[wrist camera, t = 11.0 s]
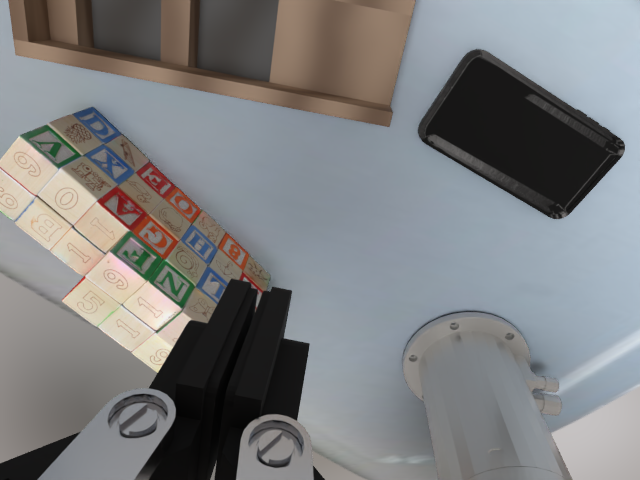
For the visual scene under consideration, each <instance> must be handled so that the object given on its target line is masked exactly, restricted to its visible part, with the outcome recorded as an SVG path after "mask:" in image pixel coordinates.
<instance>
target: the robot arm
mask: <svg viewBox="0 0 640 480" xmlns="http://www.w3.org/2000/svg"><path fill="white" fill-rule="evenodd" d="M257 294H258V289H254V288H251V282H246V281H241V280H236V279H231V280H230V281H229V283H228V285H227V287H226V289H225V291H224V293H223V294H222V296H221V298H220V300H219V302H218V304H217V306H216V308H215V310H214V312H213V313H212V315H211V317H210V319H209V321H208V323H205V322H200V321H195V320H190V321H189V322H188V323H187V325H186V326H185V328H184V330H183V331H182V333H181V335H180V336H179V338H178V340H177V342H176V343H175V345H174V347H173V348H172V350H171V352H170V353H169V355H168V357H167V358H166V360H165V362H164V363H163V365H162V367H161V368H160V370H159V372H158V373H157V375H156V377H155V379H154V381H153V382H152V384H151V385H150V387H149V388H142V389H134V390H130V391H126V392H124V393H122V394H120V395H118V396H116V397H114V398H113V399H112V400H111V401H109V402H108V403H107V404H106V405H105V406H104V407H103V408H102V409H101V411H100V412H99V413H98V414H97V415H96V416H95V417H94V418H93V419H92V420H91V422H90V423H89V424H88V425H87V426H86V427H85V428H84V429H83V431H81V432H79V433H76V434H74V435H71V436H69V437H66V438H64V439H61V440H58V441H56V442H53V443H51V444H48V445H46V446H43V447H41V448H38V449H36V450H33V451H31V452H28V453H26V454H23V455H21V456H18V457H15V458H13V459H10V460H8V461H5V462H3V463H0V480H210V478H211V475H212V472H213V469H214V466H215V463H216V460H217V463H216V472H215V480H325V479H324V478H323V477H322V476H321V475H320V473H319V472H318V471H317V470H316V468H315V467H314V466H313V459H312V444H311V440H310V436H309V434H308V432H307V431H306V429H305V428H304V427H303V426H302V425H301V424H300V423H299V422H298V421H297V418H298V412H299V406H300V400H301V394H302V388H303V381H304V375H305V369H306V363H307V357H308V351H309V345H310V344H309V343H304V342H299V341H294V340H289V339H284V333H285V327H286V322H287V316H288V311H289V305H290V300H291V294H292V291H291V290H286V289H281V288H276V287H272V289H271V292H269V291H263V293H262V296H261V298H260V301H259V304H258V306H257V309H256V312H255V308H256V301H257ZM530 360H531V357H530V352H529V348H528V346H527V344H526V342H525V340H524V338H523V337H522V335H521V334H520V332H519V331H518V330H517V329H516V328H515V327H514V326H513V325H512V324H510V323H509V322H507V321H505V320H504V319H502V318H499V317H496V316H494V315H491V314H485V313H480V312H463V313H455V314H451V315H447V316H444V317H441V318H439V319H436V320H434V321H432V322H430V323H429V324H427V325H426V326H424V327H423V328H421V329H420V330H419V331H418V332H417V333H416V334H415V335H414V336H413V337H412V339H411V340H410V341H409V343H408V344H407V347H406V349H405V351H404V355H403V362H402V363H403V372H404V377H405V381H406V383H407V385H408V387H409V388H410V390H411V391H412V392H413V393H414V394H415V395H416V396H417V397H418V398H419V399H420V400H422V401H423V402H424V403H425V409H426V414H427V419H428V425H429V430H430V435H431V441H432V446H433V452H434V457H435V462H436V468H437V473H438V478H439V480H572V478H571V476H570V473H569V471H568V469H567V467H566V465H565V463H564V461H563V459H562V456H561V455H560V452H559V450H558V448H557V446H556V444H555V442H554V439H553V438H552V435H551V433H550V431H549V429H548V427H547V425H546V422H545V420H544V418H543V416H542V414H541V413H544V414H549V415H555V416H556V415H559V414H560V412H561V408H562V404H561V400H560V398H559V397H558V396H555V395H549V394H543V393H533V392H532V391H533V389H534V388H536V389H541V390H544V391H549V392H557V391H558V388H559V382H558V380H557V379H556V378H552V377H546V376H537V375H535V373H533V372H532V371H531V369H530Z"/></svg>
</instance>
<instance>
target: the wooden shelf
mask: <svg viewBox="0 0 640 480" xmlns="http://www.w3.org/2000/svg"><path fill="white" fill-rule="evenodd" d="M8 1H9V8H10V16H11V23H12V31H13V39H14V46H15V54H16V55H18V56H24V57H29V58H34V59H39V60H44V61H50V62H55V63H60V64H65V65H70V66H76V67H81V68H86V69H91V70H96V71H101V72H107V73H112V74H117V75H122V76H127V77H133V78H138V79H143V80H148V81H153V82H159V83H164V84H169V85H174V86H179V87H184V88H190V89H195V90H200V91H205V92H210V93H216V94H221V95H226V96H231V97H236V98H242V99H247V100H252V101H257V102H262V103H267V104H273V105H278V106H283V107H288V108H293V109H299V110H304V111H309V112H314V113H319V114H325V115H330V116H335V117H340V118H345V119H350V120H356V121H361V122H366V123H371V124H376V125H382V126H387V127H389V126H390V122H391V118H392V114H393V112H392V109H391V107H390V104H391V100H392V96H393V92H394V87H395V83H396V79H397V75H398V71H399V67H400V63H401V59H402V55H403V50H404V46H405V42H406V38H407V34H408V30H409V26H410V22H411V18H412V13H413V9H414V5H415V1H416V0H8Z"/></svg>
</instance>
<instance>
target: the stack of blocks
mask: <svg viewBox="0 0 640 480" xmlns="http://www.w3.org/2000/svg"><path fill="white" fill-rule="evenodd" d="M0 212H1V213H3V214H4V215H5V216H7V217H8V218H9V219H11V220H13V221H15V224H16V225H17V226H18V227H20V228H21V229H22V230H23V231H25V232H26V233H27V234H28V235H30V236H31V237H32V238H33V239H35V240H36V241H37V242H39V243H40V244H41V245H42V246H44V247H45V248H46V249H48V250H50V251H51V253H53V254H54V255H55V256H56V257H57V258H59V259H60V260H61V261H63V262H64V263H65V264H67V265H68V266H69V267H71V268H72V269H73V270H75V271H76V272H77V273H79V274H81V275H83V276H84V277H83V278H82V279H81V281H80V282H79V283H78V284H77V285H76V286H75V287H74V288H73V289H72V290H71V291H70V292H69V293H68V294H67V295H66V296H65V297H64V298H63V299H62V301H63V302H64V303H65V304H66V305H68V306H69V307H70V308H71V309H73V310H74V311H75V312H77V313H78V314H80V315H81V316H82V317H84V318H85V319H86V320H88V321H89V322H90V323H92V324H93V325H94V326H97V327H98V328H99V329H101V330H102V331H103V332H104V333H105V334H107V335H108V336H110V337H111V338H113V339H114V340H115V341H117V342H118V343H119V344H120V345H122V346H123V347H124V348H126V349H127V350H129V351H131V353H132V354H134V355H135V356H136V357H137V358H139V359H140V360H142V361H143V362H144V363H145V364H147V365H148V366H149V367H151V368H152V369H153V370H155V371H156V372H157V373H158V372H159V370H160V368H161V367H162V365H163V363H164V362H165V360H166V358H167V357H168V355H169V353H170V352H171V350H172V348H173V347H174V345H175V343H176V342H177V340H178V338H179V336H180V335H181V333H182V331H183V330H184V328H185V326H186V325H187V323H188V322H189V321H190V320H195V321H200V322H205V323H208V321H209V319H210V317H211V315H212V313H213V312H214V310H215V308H216V306H217V304H218V302H219V300H220V298H221V296H222V294H223V293H224V291H225V289H226V287H227V285H228V283H229V281H230V280H231V279H236V280H241V281H246V282H251V288H254V289H258V294H257V301H256V308H255V312H256V309H257V306H258V304H259V301H260V298H261V296H262V293H263V291H266V290H267V287H268V283H269V279H270V275H269V274H268V273H267V272H266V271H265V270H264V269H263V268H262V267H261V266H260V265H259V264H258V263H257V262H256V261H255V260H253V259H252V258H251V257H250V256H249V254H248V253H247V252H246V251H245V250H244V249H243V248H242V247H241V246H240V245H239V244H238V243H237V242H236V241H235V240H234V239H233V238H232V237H231V236H230V235H229V234H227V233H226V232H225V231H224V230H223V229H222V228H221V227H220V226H219V225H218V224H217V223H216V222H215V221H214V220H213V219H212V218H211V217H210V216H209V215H208V214H207V213H206V212H204V211H203V210H201V209H199V207H198V206H197V205H195V204H194V203H193V202H192V201H191V200H190V199H189V198H188V197H187V196H186V195H185V194H184V193H183V192H182V191H181V190H180V189H179V188H177V187H175V186H174V184H172V183H171V182H170V181H169V180H168V179H167V178H166V177H165V176H164V175H163V174H162V173H161V172H160V171H159V170H158V169H157V168H156V167H155V166H154V165H153V164H151V163H150V162H149V159H148V158H147V157H146V156H144V155H143V154H142V153H141V152H140V151H139V150H138V149H137V148H136V147H135V146H134V145H133V144H132V143H131V142H130V141H129V140H128V139H127V138H126V137H124V136H123V135H122V134H121V133H120V132H119V131H118V130H117V129H116V128H115V127H114V126H113V125H112V124H111V123H110V122H108V121H107V120H106V119H105V118H104V117H103V116H102V115H101V114H100V113H99V112H98V111H97V110H96V109H94V108H93V107H91V108H88V109H85V110H82V111H80V112H77V113H74V114H72V115H68V116H65V117H62V118H60V119H57V120H54V121H52V122H50V123H48V124H47V125H44V126H42V127H39V128H37V129H34V130H32V131H29V132H27V133H24V134H22V135H20V136H19V137H18V138H17V139H16V141H15V142H14V143H13V144H12V146H11V147H10V148H9V150H8V151H7V152H6V153H5V155H4V156H3V157H2V158H1V160H0Z"/></svg>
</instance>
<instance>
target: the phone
mask: <svg viewBox="0 0 640 480" xmlns="http://www.w3.org/2000/svg"><path fill="white" fill-rule="evenodd" d="M586 116H587V115H586V114H584V113H583V112H581V111H580V110H576V109H574V108H573V107H571V106H570V105H568V104H567V103H565V102H563V101H562V100H560V99H559V98H557V97H556V96H554V95H553V94H551V93H550V92H548V91H547V90H545V89H544V88H542V87H540V86H539V85H537V84H536V83H534V82H533V81H531V80H530V79H528V78H527V77H525V76H524V75H522V74H521V73H519V72H518V71H516V70H514V69H513V68H511V67H510V66H508V65H507V64H505V63H504V62H502V61H501V60H499V59H498V58H496V57H495V56H493V55H492V54H490V53H488V52H486V51H484V50H477V49H476V50H472V51H470V52H469V53H467V54H466V55H465V56H464V57H463V59H462V60H461V62H460V63H459V65H458V66H457V68H456V69H455V71H454V72H453V74H452V75H451V77H450V78H449V80H448V81H447V83H446V84H445V86H444V87H443V89H442V90H441V92H440V93H439V95H438V96H437V98H436V99H435V101H434V102H433V104H432V105H431V107H430V108H429V110H428V112H427V113H426V115H425V116H424V118H423V119H422V121H421V122H420V124H419V128H418V133H419V136H420V138H421V139H422V141H423V142H424V143H425V144H427V145H429V146H430V147H432V148H434V149H435V150H437V151H439V152H440V153H442V154H444V155H445V156H447V157H449V158H450V159H452V160H454V161H456V162H457V163H459V164H461V165H462V166H464V167H466V168H467V169H469V170H471V171H472V172H474V173H476V174H478V175H479V176H481V177H483V178H484V179H486V180H488V181H489V182H491V183H493V184H494V185H496V186H498V187H499V188H501V189H503V190H505V191H506V192H508V193H510V194H511V195H513V196H515V197H516V198H518V199H520V200H521V201H523V202H525V203H527V204H528V205H530V206H532V207H533V208H535V209H537V210H538V211H540V212H542V213H543V214H545V215H547V216H548V217H550V218H553V219H560V218H564V217H566V216H567V215H569V214H570V213H571V212H572V211H573V210H574V208H575V207H576V206H577V205H578V204H579V203H580V202H581V201H582V200H583V199H584V198H585V196H586V195H587V194H588V193H589V192H590V191H591V190H592V189H593V188H594V187H595V186H596V184H597V183H598V182H599V181H600V180H601V179H602V178H603V177H604V176H605V175H606V174H607V172H608V171H609V170H610V169H611V168H612V167H613V166H614V165H615V164H616V163H617V162H618V160H619V159H620V158H621V157H622V155H623V153H624V151H625V145H624V142H623V141H622V140H621V139H620V138H619V137H617V136H616V135H614V134H612V133H611V132H610V131H609V130H608V129H606V128H605V127H602V126H600V125H599V123H597V122H596V121H594V120H593V119H591V118H590V117H586Z"/></svg>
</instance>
